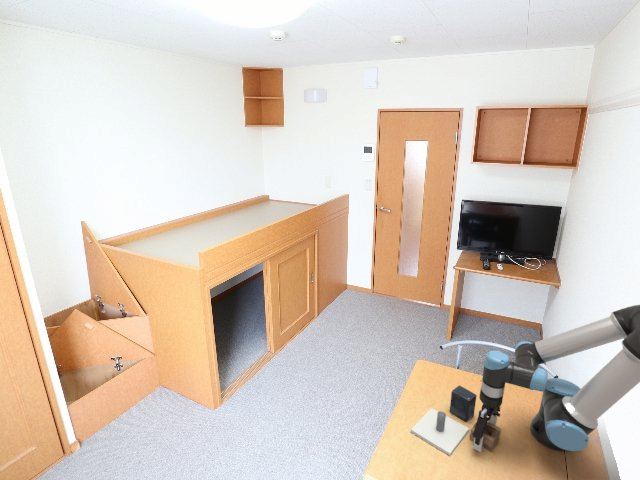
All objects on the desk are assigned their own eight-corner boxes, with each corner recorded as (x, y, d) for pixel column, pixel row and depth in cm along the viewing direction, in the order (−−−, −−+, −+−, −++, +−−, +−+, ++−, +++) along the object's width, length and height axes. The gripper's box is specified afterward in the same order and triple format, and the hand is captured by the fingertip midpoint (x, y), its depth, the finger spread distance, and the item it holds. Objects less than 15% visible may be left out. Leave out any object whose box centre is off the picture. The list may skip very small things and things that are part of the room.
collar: (499, 439, 145) (501, 428, 144) (491, 451, 140) (492, 441, 138) (478, 427, 151) (479, 417, 149) (469, 439, 145) (471, 429, 144)
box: (473, 416, 157) (477, 394, 153) (466, 422, 153) (469, 400, 150) (456, 405, 162) (459, 384, 159) (449, 411, 159) (451, 390, 156)
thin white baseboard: (468, 430, 149) (471, 413, 147) (449, 456, 138) (452, 437, 136) (431, 410, 160) (432, 393, 157) (410, 432, 149) (412, 414, 146)
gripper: (494, 371, 150) (487, 416, 156) (466, 404, 133) (460, 453, 139) (514, 380, 145) (506, 426, 151) (488, 415, 128) (480, 465, 134)
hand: (484, 439), depth 145 cm, fingers open, 13 cm apart
